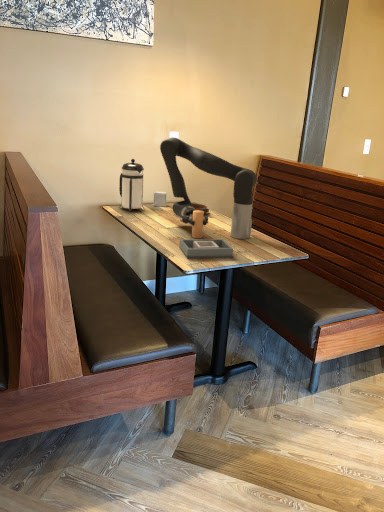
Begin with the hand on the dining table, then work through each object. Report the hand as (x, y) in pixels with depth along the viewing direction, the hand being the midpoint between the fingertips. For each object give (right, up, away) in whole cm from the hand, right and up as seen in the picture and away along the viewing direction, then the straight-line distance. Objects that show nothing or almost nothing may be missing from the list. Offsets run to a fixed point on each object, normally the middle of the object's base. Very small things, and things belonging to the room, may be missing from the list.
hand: (199, 223), depth 191 cm
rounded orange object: (-1, -6, +5) cm, 7 cm away
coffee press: (-41, +13, +62) cm, 75 cm away
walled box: (+2, -13, -9) cm, 16 cm away
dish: (-4, +11, +62) cm, 63 cm away
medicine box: (-24, +17, +76) cm, 81 cm away
